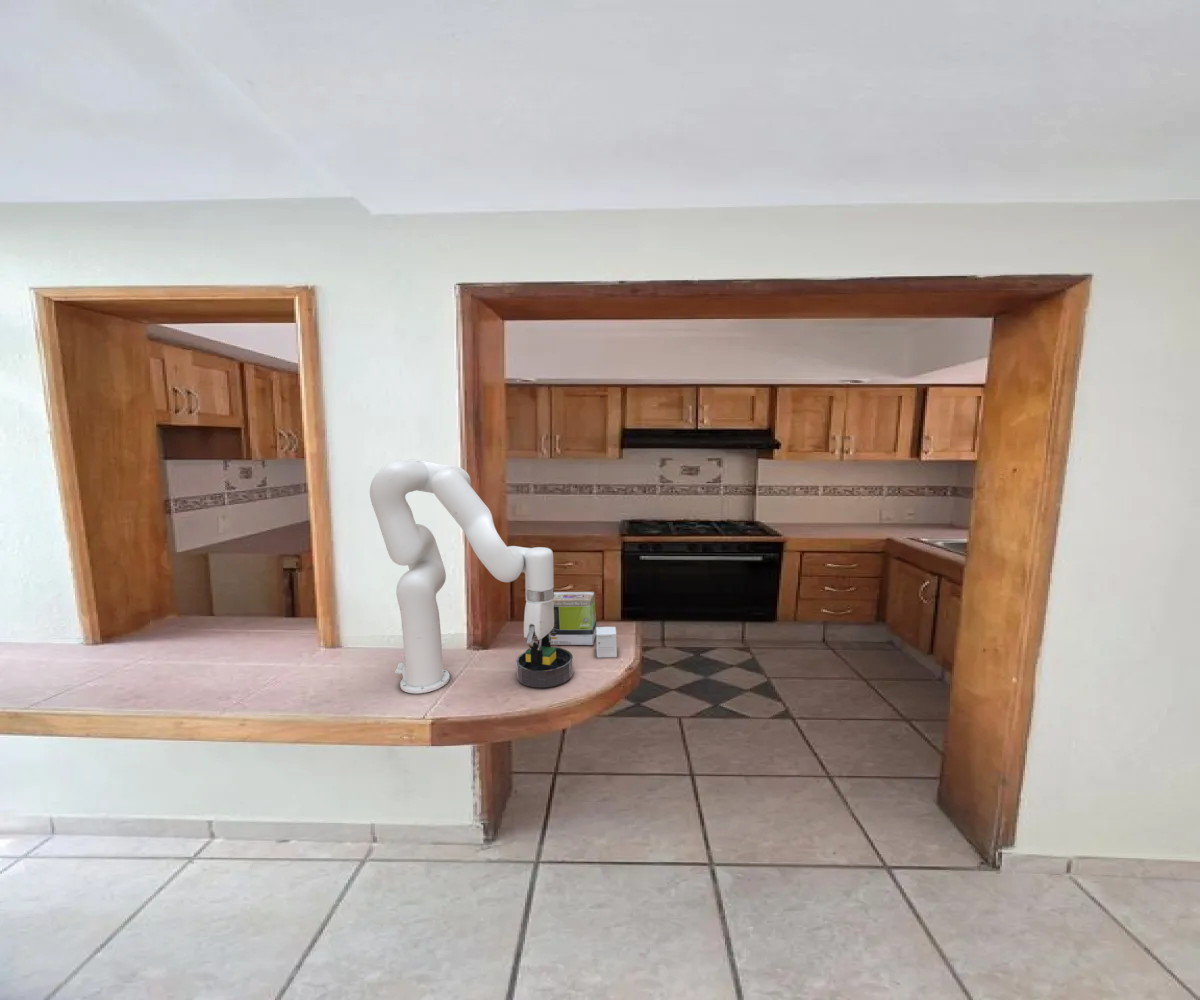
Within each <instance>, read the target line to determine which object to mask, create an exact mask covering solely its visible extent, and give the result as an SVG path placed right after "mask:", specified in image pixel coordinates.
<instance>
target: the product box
mask: <svg viewBox="0 0 1200 1000" xmlns="http://www.w3.org/2000/svg"><path fill="white" fill-rule="evenodd" d="M617 637H618V636H617V627H616V626H596V636H595V644H596V645H595V648H596V650H595V651H596V652H595V653H596V658H617V657H618V640H617V639H618V638H617Z"/></svg>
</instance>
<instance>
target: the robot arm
mask: <svg viewBox="0 0 1200 1000" xmlns="http://www.w3.org/2000/svg"><path fill="white" fill-rule="evenodd" d="M416 491H417V492H424V493H429V494H434V496H435V497H436V498H437V499H438V501H439V502H440V503H441V505H442V506H443V508H444V509H446V511H447V512H448V513H449V515H450V516H451V518H452V519H453V520H454V521H455V522H456V523H457V524H458V526H459V527H460V528H461V530H462V531H463V533H464V535H465V538H466V539H467V541H468V543H469V544H470V547H471V549H472V550H473V552H474V554H475V555H476V557H477V558H478V559H479V561H480V562H481V564H482V565H483V566H484V567H485V569H486V570H487V571H488V572H489V573H490V574H491V575H492V576H493V577H494V578H495V579H496V580H498V581H500V582H503V583H511V582H514V581H516V580H517V579H518V578H519V577H520V575H521V573H524V583H525V584H524V585H525V588H524V589H525V601H526V602H525V606H524V615H523V638H524V639H527V640H526V645H527V646H528V648H530V650H531V663H533V664H540V665H541V664H542V663H543V658H542V649H541V646H546V647H552V645H551V642H549V641H551V630H552V629H553V627H554V607H553V600H554V592H555V583H554V581H555V580H554V579H555V578H554V573H555V571H554V569H555V568H554V552H553V550H552V549H551V548H549V547H545V546H544V547H543V546H537V547H523V546H517V545H509V546H508V545H507V544H506V543H505V542H504V540H503V539H502V538H501V536H500V534H499V533H498V531H497V529H496V526H495V523H494V519H493V518H494V517H493V515H492V512H491V510H490V509H489V507H488V506H487V505H486V503H485V502H484V501H483V500H482V499H481V497H480V496H479V495H478V494H477V492H476V491H475V489H474V488H473V487H472V480H471V476H470V474H469V473H468V472H467V471H466V470H465V469H464V468H462V467H460V466H454V465H449V464H443V463H437V462H432V461H427V460H421V459H413V458H412V459H401V460H395V461H392V462H389V463H388V464H386V465H384V466H383V467H381V468H380V469H379V470H378V471H377V472H376V474H374V476H373V478H372V480H371V482H370V485H369V498H370V503H371V505H372V508H373V511H374V514H375V516H376V519H377V522H378V526H379V529H380V533H381V535H382V538H383V541H384V544H385V547H386V551H387V553H388V555H389V558H390V560H391V561H392V563H394V564H396V565H397V566H401V567H405V566H408V570H407V571H405V573H403V574H402V576H401V577H400V578H399V580H398V582H397V584H396V589H395V590H396V591H395V594H396V600H397V604H398V607H399V612H400V613H399V614H400V620H401V621H400V622H401V630H402V643H403V644H402V645H403V655H404V662H398V664H397V667H396V669H395V670H394V673H395V674H396V675H402V679H400V682H399V686H400V690H402V691H403V692H405V693H408V694H426V693H429V692H433V691H434V692H435V691H436V690H439V689H441V688H443V687H445V686H446V685H447V683H449V681H450V680H451V679H450V677H451V675H450V672H449V671H448V670H446V669H444V661H443V648H442V647H443V645H442V633H441V631H442V629H441V620H440V610H439V606H438V602H437V593H438V592H439V591H440V590H441V589H442V588H443V586H444V585H445V583H446V579H447V574H446V573H447V572H446V568H445V565H444V562H443V559H442V556H441V553H440V549H439V546H438V543H437V540H436V538H435V536H434V535H433V532H432V531H431V530H430V529H429V528H428V527H427V526H425V525H423V524H419V523H416V520H415V518H414V514H413V510H412V508H411V507H410V504H409V503H408V501H407V499H406V495H408V494H409V493H413V492H416ZM535 641H536V642H535Z"/></svg>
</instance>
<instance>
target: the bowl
mask: <svg viewBox="0 0 1200 1000" xmlns="http://www.w3.org/2000/svg"><path fill="white" fill-rule="evenodd" d="M552 647H553V648H556V659H555V660H554V661H553V662H552V663H551V664H550V665H545V664H541V665H540V664H533V663H531V662H526V651H524V652H522V653H521V654H519V655H518V657H517V658H516V661H515V664H516V665H515V667H516V679H517V681H518V682H520V683H521V684H522V685H524V686H528V687H531V688H540V689H541V688H551V687H556V686H559V685H561V684H564V683H565V682H567V681H569V680H570V679H571V678H572V677H573V675H574V656H573V654H572V652H570V651H569V650H568V649H565V648H561V647H556V646H552Z"/></svg>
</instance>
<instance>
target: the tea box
mask: <svg viewBox="0 0 1200 1000" xmlns="http://www.w3.org/2000/svg"><path fill="white" fill-rule="evenodd" d="M553 607H554V627H553V629H552V630H551V641H549V642H551V646H552V645H553V646H558V645H559V646H593V645H594V642H595V641H596V627H597V613H596V611H597V610H596V592H595V591H554V600H553Z"/></svg>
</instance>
